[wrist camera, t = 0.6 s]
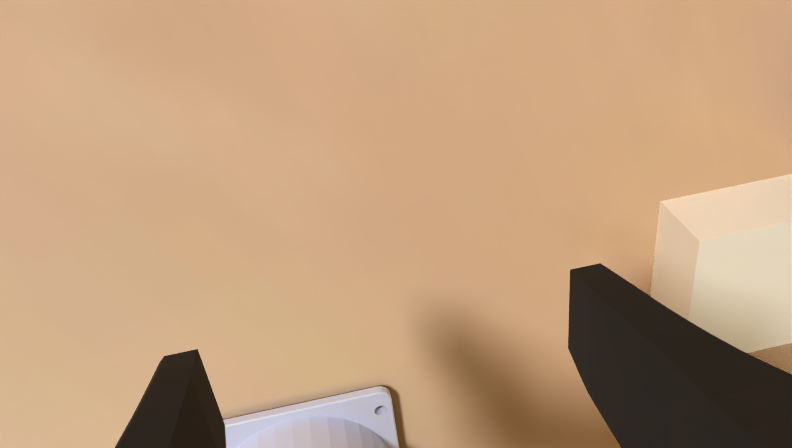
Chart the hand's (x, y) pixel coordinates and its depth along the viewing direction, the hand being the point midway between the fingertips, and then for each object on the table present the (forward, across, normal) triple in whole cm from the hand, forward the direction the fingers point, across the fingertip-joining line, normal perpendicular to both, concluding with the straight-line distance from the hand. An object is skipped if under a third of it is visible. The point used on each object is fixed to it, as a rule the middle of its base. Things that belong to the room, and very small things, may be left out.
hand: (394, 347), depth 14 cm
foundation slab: (+11, -14, +8) cm, 20 cm away
